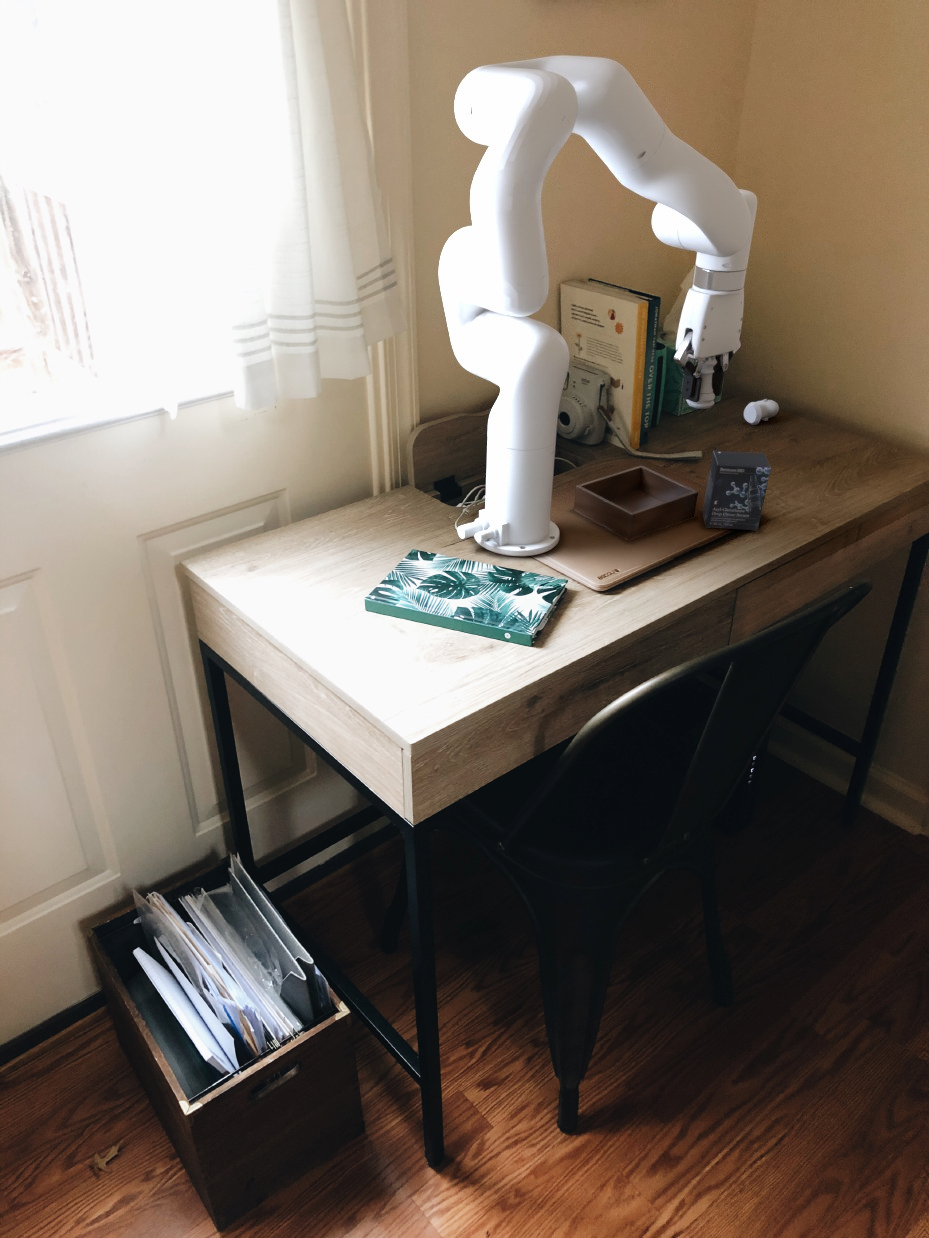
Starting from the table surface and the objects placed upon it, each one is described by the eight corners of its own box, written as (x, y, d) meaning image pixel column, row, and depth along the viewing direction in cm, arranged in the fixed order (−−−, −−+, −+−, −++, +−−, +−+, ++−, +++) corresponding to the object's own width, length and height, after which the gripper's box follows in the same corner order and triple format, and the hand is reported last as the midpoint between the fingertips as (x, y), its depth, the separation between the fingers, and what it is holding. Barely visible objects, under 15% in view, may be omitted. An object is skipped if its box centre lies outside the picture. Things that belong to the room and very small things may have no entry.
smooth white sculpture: (761, 418, 188) (783, 418, 184) (734, 426, 184) (757, 426, 180) (760, 396, 187) (782, 395, 183) (733, 403, 183) (755, 403, 178)
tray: (628, 541, 141) (631, 515, 139) (573, 510, 149) (575, 485, 147) (694, 517, 148) (698, 491, 146) (638, 489, 156) (641, 465, 154)
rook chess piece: (697, 397, 157) (705, 349, 153) (719, 405, 154) (727, 356, 150) (680, 403, 155) (687, 354, 150) (702, 411, 152) (709, 361, 147)
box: (705, 529, 145) (717, 464, 139) (701, 512, 149) (712, 449, 144) (758, 532, 144) (772, 467, 138) (752, 515, 149) (765, 451, 143)
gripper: (736, 267, 151) (718, 380, 160) (661, 281, 142) (646, 400, 152) (775, 277, 146) (753, 393, 155) (699, 292, 137) (681, 414, 147)
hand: (701, 395), depth 154 cm, fingers closed on rook chess piece, 4 cm apart
